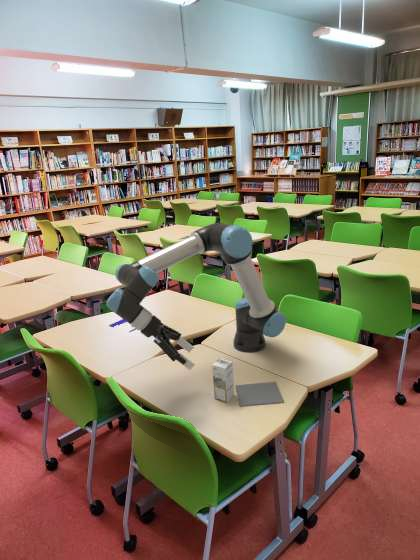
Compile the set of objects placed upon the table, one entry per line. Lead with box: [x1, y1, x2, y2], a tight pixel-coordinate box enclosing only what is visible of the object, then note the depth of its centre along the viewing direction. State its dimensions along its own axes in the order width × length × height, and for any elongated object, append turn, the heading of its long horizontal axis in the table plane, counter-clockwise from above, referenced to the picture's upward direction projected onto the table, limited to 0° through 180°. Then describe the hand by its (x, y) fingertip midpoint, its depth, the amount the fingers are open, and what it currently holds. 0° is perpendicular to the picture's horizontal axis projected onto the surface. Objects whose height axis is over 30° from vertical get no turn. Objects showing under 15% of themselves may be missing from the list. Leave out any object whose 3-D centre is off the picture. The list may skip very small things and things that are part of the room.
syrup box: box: [211, 358, 235, 403], centre depth 156 cm, size 6×6×14 cm
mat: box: [234, 381, 285, 407], centre depth 158 cm, size 14×16×1 cm
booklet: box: [109, 318, 137, 333], centre depth 229 cm, size 12×25×1 cm, turn 52°
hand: (192, 358), depth 152 cm, fingers open, 13 cm apart
